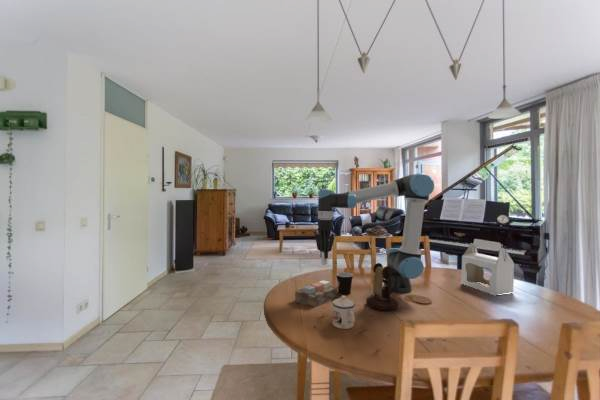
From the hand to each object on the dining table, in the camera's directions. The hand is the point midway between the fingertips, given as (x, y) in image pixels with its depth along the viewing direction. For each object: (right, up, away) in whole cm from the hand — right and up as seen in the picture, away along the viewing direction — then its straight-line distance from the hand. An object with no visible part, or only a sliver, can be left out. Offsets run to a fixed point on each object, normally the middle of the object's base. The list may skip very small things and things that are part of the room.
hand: (323, 264), depth 150 cm
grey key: (-8, -14, -9) cm, 18 cm away
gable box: (+95, -18, +17) cm, 98 cm away
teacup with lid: (+6, -18, -33) cm, 38 cm away
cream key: (0, -14, 0) cm, 14 cm away
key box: (-4, -17, -4) cm, 18 cm away
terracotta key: (-4, -14, -4) cm, 15 cm away
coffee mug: (+12, -17, +7) cm, 22 cm away
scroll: (+27, -18, -12) cm, 34 cm away
